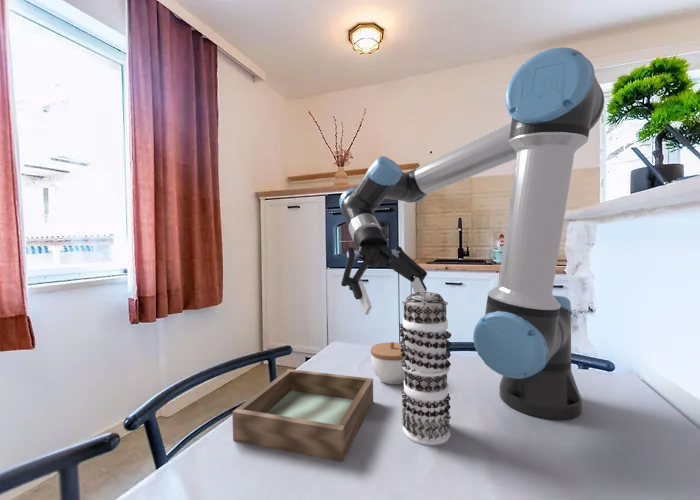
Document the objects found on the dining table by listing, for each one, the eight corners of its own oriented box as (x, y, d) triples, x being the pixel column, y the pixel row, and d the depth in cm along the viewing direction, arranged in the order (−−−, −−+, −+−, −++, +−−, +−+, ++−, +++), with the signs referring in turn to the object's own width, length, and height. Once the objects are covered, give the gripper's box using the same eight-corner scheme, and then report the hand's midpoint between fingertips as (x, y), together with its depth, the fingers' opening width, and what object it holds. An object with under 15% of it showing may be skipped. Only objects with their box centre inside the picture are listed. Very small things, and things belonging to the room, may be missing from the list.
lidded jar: (413, 390, 76) (413, 350, 76) (368, 386, 79) (367, 347, 78) (414, 372, 87) (413, 337, 87) (373, 369, 89) (373, 335, 89)
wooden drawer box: (373, 401, 71) (372, 378, 71) (342, 461, 52) (341, 430, 52) (288, 390, 77) (288, 369, 77) (233, 439, 58) (232, 411, 58)
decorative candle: (390, 432, 59) (388, 294, 59) (416, 412, 66) (415, 289, 66) (436, 454, 53) (435, 300, 53) (460, 429, 60) (459, 293, 60)
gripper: (406, 246, 88) (441, 312, 74) (315, 248, 79) (336, 324, 65) (416, 225, 83) (456, 292, 69) (321, 224, 74) (345, 301, 60)
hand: (398, 308), depth 67 cm, fingers open, 13 cm apart
